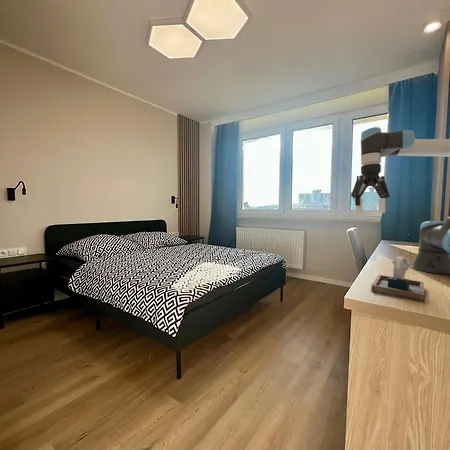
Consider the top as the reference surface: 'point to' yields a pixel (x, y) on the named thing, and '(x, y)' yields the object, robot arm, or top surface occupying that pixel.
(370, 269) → the top surface
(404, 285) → the rubber stamp
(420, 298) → the valet tray
